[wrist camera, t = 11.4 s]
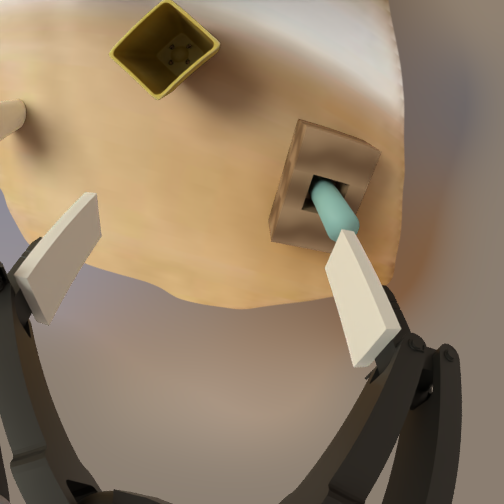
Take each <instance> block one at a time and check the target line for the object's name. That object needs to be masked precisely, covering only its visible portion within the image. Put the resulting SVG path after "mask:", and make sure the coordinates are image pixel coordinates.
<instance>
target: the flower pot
mask: <svg viewBox="0 0 504 504" xmlns="http://www.w3.org/2000/svg"><path fill="white" fill-rule="evenodd" d="M172 45H173V46H174V48H173V49H171V48H170V46H172ZM188 45H191V48H187V46H188ZM219 48H220V42H219V41H218V40H217V39H216V38H215V37H213V36H212V35H211V34H210V33H209V32H208V31H207V30H206V29H205V28H204V27H202V26H201V25H200V24H199V23H198V22H197V21H196V20H195V19H193V18H192V17H191V16H190V15H189V14H188V13H186V12H185V11H184V10H183V9H182V8H181V7H180V6H178V5H177V4H176V3H175V2H174V1H172V0H163V1H161V2H160V3H159V4H158V5H156V6H155V7H154V8H153V9H152V10H151V11H149V12H148V13H147V14H146V15H145V16H144V17H143V18H142V19H141V20H140V21H139V22H138V23H137V24H136V25H135V26H134V27H133V28H132V29H131V30H129V31H128V32H127V33H126V34H125V36H124V37H123V38H122V39H121V40H120V41H119V42H118V43H117V44H116V45H115V46H114V47H113V49H112V50H111V51H110V53H109V56H110V57H111V59H113V60H114V61H115V62H116V63H117V64H118V65H119V66H120V67H122V68H123V69H124V70H125V71H126V72H127V73H128V74H129V75H130V76H131V77H132V78H133V79H134V80H135V81H137V82H138V83H139V84H140V85H141V86H142V87H143V88H144V89H145V90H146V91H147V92H148V93H149V94H150V95H151V96H152V97H153V98H154V99H156V100H160V99H161V98H163V97H165V96H166V95H168V94H169V93H171V92H172V91H174V90H175V89H176V88H177V87H178V86H179V85H180V84H181V83H182V82H183V81H184V80H185V79H186V78H187V77H188V76H190V75H191V74H192V73H193V72H194V71H195V70H196V69H198V68H199V67H200V66H201V65H202V64H204V63H205V62H206V61H207V60H209V59H210V58H211V57H213V56H214V55H215V54H216V53H217V52H218V51H219ZM187 60H189V61H190V63H189V64H186V61H187ZM169 61H173V64H169Z"/></svg>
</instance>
